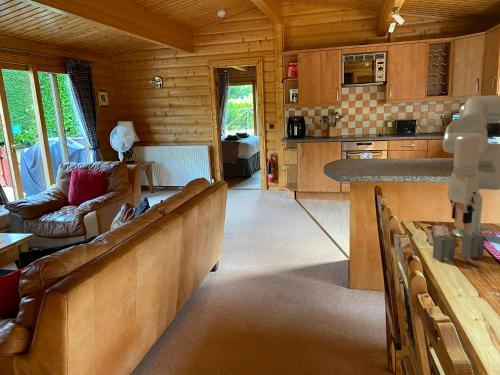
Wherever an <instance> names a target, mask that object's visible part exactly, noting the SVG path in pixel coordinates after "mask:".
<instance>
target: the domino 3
mask: <svg viewBox="0 0 500 375" xmlns="http://www.w3.org/2000/svg"><path fill="white" fill-rule="evenodd" d="M469 207H470V205H468V208H469ZM455 209H456V210H455V219H454V224H453V226H454V227H458V228H460V229H462V230H468V223H463V222H462V221H463V212H465V210H464V205H463V204H460V203H457V202H456V208H455Z"/></svg>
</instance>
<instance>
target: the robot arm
mask: <svg viewBox="0 0 500 375" xmlns="http://www.w3.org/2000/svg"><path fill="white" fill-rule="evenodd" d="M458 115H459V117H458V118H456V119H455V120H453V121H452V122H450V123H449V124H448V125H447V127H446V129H445V131H444V134H443V139H442V144H441V145H442V149H443V151H444V152H445V153H448V154H454V157H453V168H452V170H453V171H452V173H451V175H450V177H449V178H450V179H449V183H448V190H447V191H448V192H447V198H448V200H449V201H450V204H451V205H450V206H451V208H452V209H451V219H452V220H455V210H456V209H455V208H456V202H457V203H460V204H463V205H464V210H465V212H463V221H462V222H463V223H468V230H462V229H460V228H458V227H456V228H454V229H452V232H451V234H452V235H453V236H455V237H457V238H462V237H463V233H467V234H470V235H472V232H477V233H479V234H481V235H484V236H485V234H484V233H483V231H489V230H490V226H488V225H484V226H483V225H482V224H481V221H482V210H483V197H482V194H481V193H480V192H479V190H489V191H497V190H498V191H499V190H500V143H497V142H496V143H493V142H490V143H489V139H488V129H487V128H486V124H499V123H500V95H499V94H498V95H497V94H496V95H495V94H493V95H476V96H471V97H470V98H468V99H467V100H466V101H465V103H464V104H462V105H461V106H460V107H459V110H458ZM479 165H483V166H491V167H492V168H491V167H479ZM468 205H470V207H469V208H468Z"/></svg>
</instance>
